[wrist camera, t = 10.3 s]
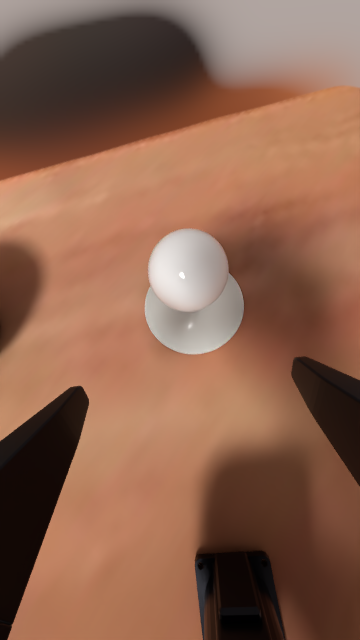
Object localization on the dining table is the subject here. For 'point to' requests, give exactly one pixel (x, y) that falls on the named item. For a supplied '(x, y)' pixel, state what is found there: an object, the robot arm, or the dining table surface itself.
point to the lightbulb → (188, 270)
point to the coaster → (197, 321)
